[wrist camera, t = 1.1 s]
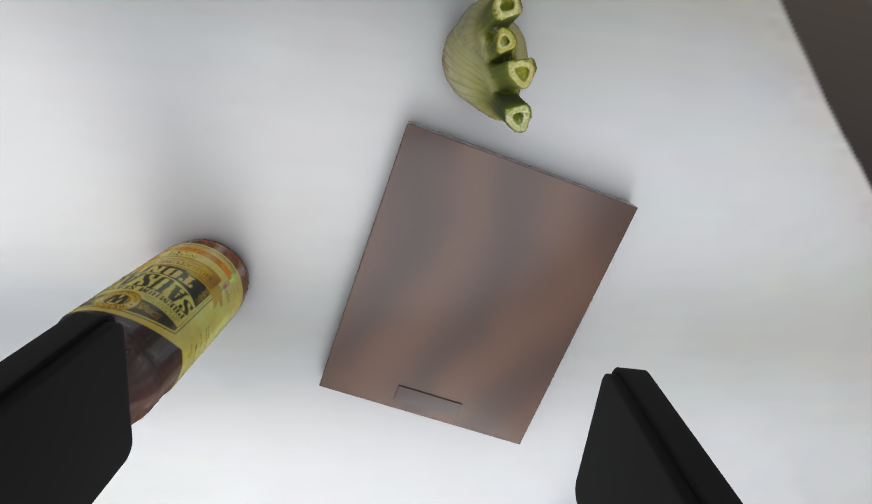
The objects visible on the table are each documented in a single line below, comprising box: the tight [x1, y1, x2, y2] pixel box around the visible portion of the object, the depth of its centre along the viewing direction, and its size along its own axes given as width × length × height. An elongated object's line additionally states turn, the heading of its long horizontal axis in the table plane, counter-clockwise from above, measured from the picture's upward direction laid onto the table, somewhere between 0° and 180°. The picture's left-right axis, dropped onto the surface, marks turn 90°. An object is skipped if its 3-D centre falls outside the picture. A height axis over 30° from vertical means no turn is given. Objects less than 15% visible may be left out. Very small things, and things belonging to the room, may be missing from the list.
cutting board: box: [320, 121, 637, 444], centre depth 37 cm, size 16×20×2 cm
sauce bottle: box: [58, 239, 249, 425], centre depth 28 cm, size 7×6×20 cm
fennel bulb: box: [442, 0, 537, 133], centre depth 27 cm, size 6×5×12 cm
